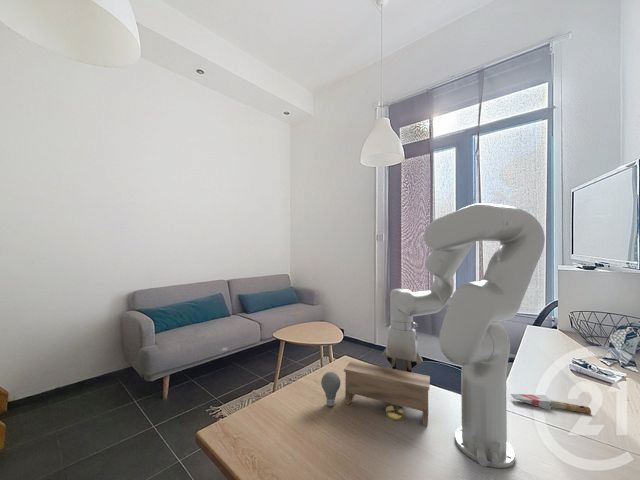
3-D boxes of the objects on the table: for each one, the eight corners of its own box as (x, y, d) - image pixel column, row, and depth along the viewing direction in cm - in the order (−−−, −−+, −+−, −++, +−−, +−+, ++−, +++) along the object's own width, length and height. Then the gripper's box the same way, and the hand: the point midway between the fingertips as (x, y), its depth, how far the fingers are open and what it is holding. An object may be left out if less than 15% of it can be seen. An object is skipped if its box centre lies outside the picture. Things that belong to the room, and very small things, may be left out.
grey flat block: (403, 407, 81) (403, 361, 81) (391, 404, 82) (391, 359, 83) (407, 389, 91) (407, 348, 92) (397, 386, 93) (397, 346, 93)
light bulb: (344, 405, 82) (344, 372, 82) (331, 413, 78) (331, 379, 78) (329, 397, 86) (329, 366, 86) (317, 405, 82) (317, 372, 82)
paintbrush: (509, 388, 87) (585, 402, 81) (509, 396, 87) (585, 411, 81) (514, 394, 83) (594, 409, 77) (514, 403, 83) (593, 419, 77)
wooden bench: (429, 426, 72) (429, 387, 73) (343, 403, 83) (344, 369, 83) (430, 412, 79) (430, 376, 79) (350, 392, 89) (350, 360, 89)
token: (402, 423, 74) (402, 418, 74) (384, 419, 76) (384, 413, 76) (404, 413, 78) (404, 408, 79) (387, 409, 81) (387, 404, 81)
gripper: (427, 325, 91) (428, 378, 90) (380, 319, 98) (380, 369, 97) (426, 331, 84) (427, 389, 84) (375, 324, 91) (375, 378, 91)
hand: (401, 377), depth 91 cm, fingers closed on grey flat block, 3 cm apart
